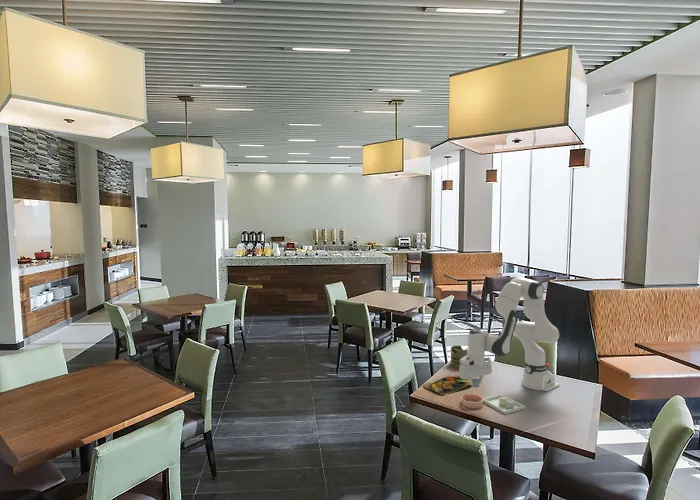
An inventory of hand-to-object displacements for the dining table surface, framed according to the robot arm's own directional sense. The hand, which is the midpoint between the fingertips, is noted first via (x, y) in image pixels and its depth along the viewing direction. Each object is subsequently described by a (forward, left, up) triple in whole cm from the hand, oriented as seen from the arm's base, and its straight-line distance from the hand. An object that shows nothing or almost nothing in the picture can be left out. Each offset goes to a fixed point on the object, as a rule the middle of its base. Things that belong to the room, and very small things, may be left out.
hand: (475, 384), depth 220 cm
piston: (-36, -56, -13) cm, 68 cm away
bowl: (0, -3, -13) cm, 13 cm away
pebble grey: (-14, +11, -12) cm, 21 cm away
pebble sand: (-14, +6, -12) cm, 19 cm away
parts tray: (-14, +6, -13) cm, 20 cm away
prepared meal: (-5, -28, -13) cm, 32 cm away
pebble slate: (0, 0, -1) cm, 1 cm away
